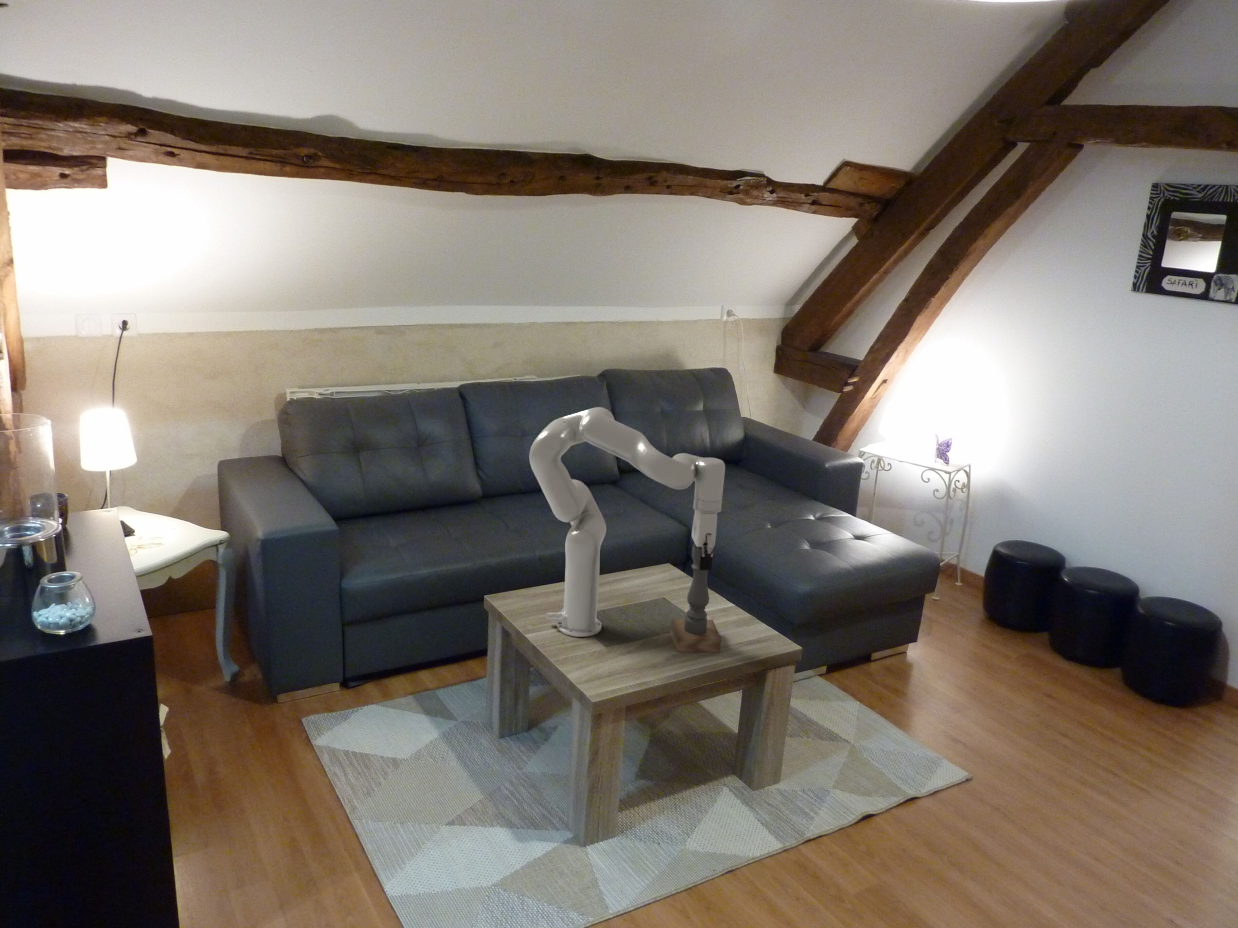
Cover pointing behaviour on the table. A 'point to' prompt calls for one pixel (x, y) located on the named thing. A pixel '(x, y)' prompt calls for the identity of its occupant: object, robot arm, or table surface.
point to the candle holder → (697, 596)
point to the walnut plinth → (695, 638)
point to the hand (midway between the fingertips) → (702, 562)
